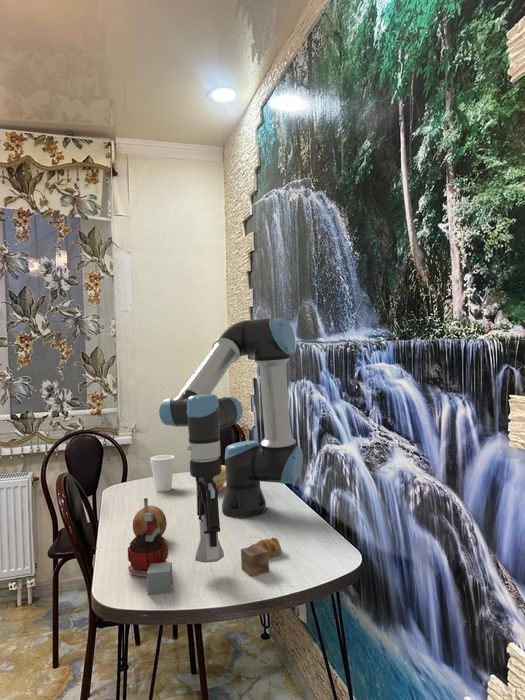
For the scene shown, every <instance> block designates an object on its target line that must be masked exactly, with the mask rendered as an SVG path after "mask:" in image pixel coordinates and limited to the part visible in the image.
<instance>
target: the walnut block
mask: <svg viewBox="0 0 525 700" xmlns="http://www.w3.org/2000/svg"><path fill="white" fill-rule="evenodd" d="M250 546H251V545H250ZM250 546H249V547H244V548H241V549H240V558H241V559H240V561H241V563H240V564H241V565H240V566H241V570H242V571H243V572H244V573H246V574H247V575H248V576H249V577H251V578H253V577H256V576H259V575H262V574H265V573H270V561H269V559H270V558H269V556H268V551H267V550H266V549H264V548H263V547H261V546H260V545H255V546H251V547H250Z"/></svg>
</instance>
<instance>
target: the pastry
mask: <svg viewBox="0 0 525 700" xmlns="http://www.w3.org/2000/svg"><path fill="white" fill-rule="evenodd" d="M279 541H280V540H279V539H278V538H277V537H271V538H270V539H268V538H266V539H265V538H264V539H260V540H259V541H257V542H256V543H254V544H253V543H252V544H251V545H250V546H249V547H251V546H255V545H260V546H261V547H263V548H264V549H266V550H267V551H268V556H269V559H271V558H275V557H279V556H281V554H282V552H283V549H282V546H281V545H280V542H279Z"/></svg>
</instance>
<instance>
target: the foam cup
mask: <svg viewBox="0 0 525 700" xmlns="http://www.w3.org/2000/svg"><path fill="white" fill-rule="evenodd" d="M150 466H151V470H152V478H153V484H154V489H155V491H156V492H159V493H161V492H164V493H165V492H168V491H171V490H172V487H173V480H174V479H173V477H174V469H175V467H174V466H175V456H174V455H173V454H171V455H170V454H161V455H155V456H152V457H150Z"/></svg>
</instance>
